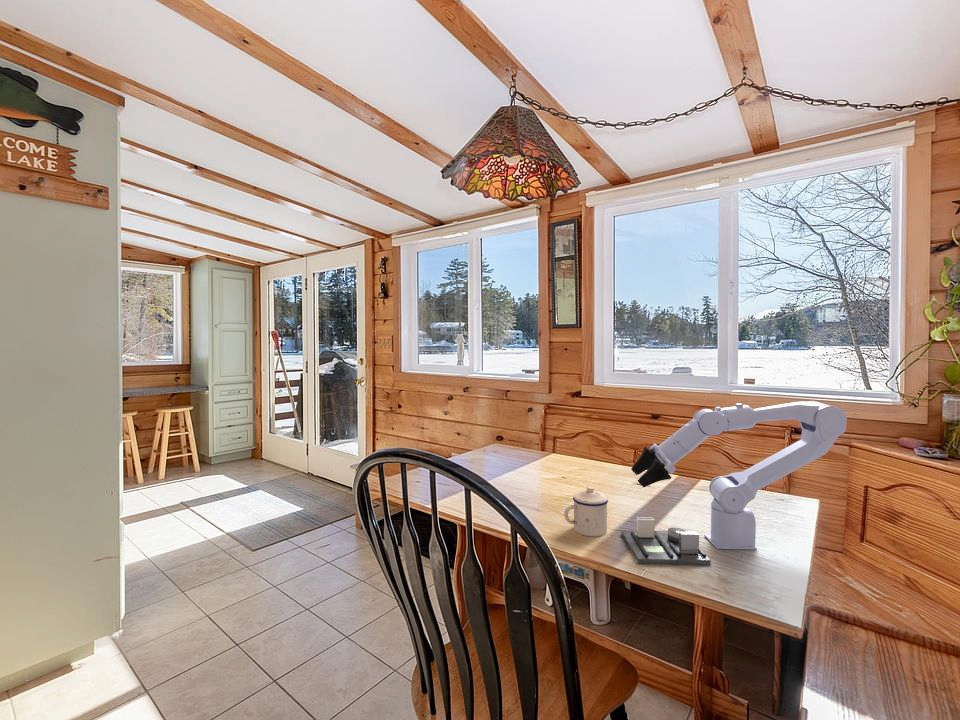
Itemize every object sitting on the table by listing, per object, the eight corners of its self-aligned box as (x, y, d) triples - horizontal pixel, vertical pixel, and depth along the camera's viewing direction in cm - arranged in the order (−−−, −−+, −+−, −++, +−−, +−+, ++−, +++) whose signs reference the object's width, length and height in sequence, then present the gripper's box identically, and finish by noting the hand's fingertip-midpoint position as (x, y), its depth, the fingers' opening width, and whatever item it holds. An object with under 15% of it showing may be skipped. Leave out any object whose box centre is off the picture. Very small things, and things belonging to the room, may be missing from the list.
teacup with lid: (596, 522, 132) (597, 481, 132) (614, 535, 123) (614, 491, 123) (557, 526, 129) (557, 484, 128) (572, 540, 120) (572, 495, 120)
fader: (652, 534, 120) (652, 517, 120) (654, 537, 119) (654, 519, 118) (636, 534, 120) (636, 516, 120) (638, 537, 119) (638, 519, 119)
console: (683, 535, 123) (684, 513, 123) (710, 565, 107) (710, 539, 107) (621, 534, 124) (621, 512, 123) (638, 564, 108) (638, 538, 108)
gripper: (660, 424, 126) (621, 456, 129) (677, 442, 112) (632, 478, 115) (678, 443, 127) (638, 475, 129) (697, 464, 112) (652, 499, 115)
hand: (636, 478), depth 122 cm, fingers open, 7 cm apart
